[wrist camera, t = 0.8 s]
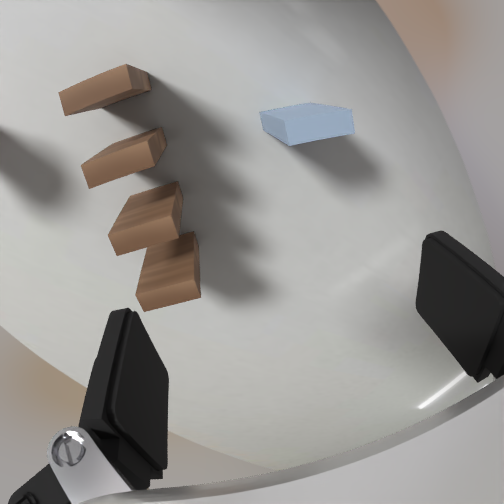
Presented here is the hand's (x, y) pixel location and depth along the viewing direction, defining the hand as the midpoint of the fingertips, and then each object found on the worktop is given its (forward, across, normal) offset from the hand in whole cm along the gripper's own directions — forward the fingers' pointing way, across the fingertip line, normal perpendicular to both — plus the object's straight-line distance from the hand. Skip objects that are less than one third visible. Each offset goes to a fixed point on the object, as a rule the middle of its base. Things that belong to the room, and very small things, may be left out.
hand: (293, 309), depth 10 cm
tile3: (+23, +8, -4) cm, 24 cm away
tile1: (+23, -6, -3) cm, 24 cm away
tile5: (+23, +8, +7) cm, 25 cm away
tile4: (+23, +8, +2) cm, 24 cm away
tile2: (+23, +8, -9) cm, 26 cm away
